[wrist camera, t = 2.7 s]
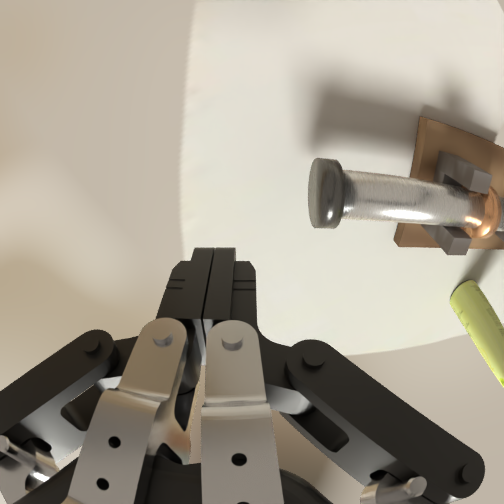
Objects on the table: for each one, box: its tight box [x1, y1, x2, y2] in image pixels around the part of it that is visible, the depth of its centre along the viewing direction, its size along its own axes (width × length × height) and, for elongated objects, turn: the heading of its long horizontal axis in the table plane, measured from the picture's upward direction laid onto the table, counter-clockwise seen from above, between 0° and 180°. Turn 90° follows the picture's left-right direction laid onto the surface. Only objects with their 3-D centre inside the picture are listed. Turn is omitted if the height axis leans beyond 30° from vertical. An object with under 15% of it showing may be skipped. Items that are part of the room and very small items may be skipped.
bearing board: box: [394, 117, 504, 255], centre depth 17 cm, size 12×20×7 cm, turn 89°
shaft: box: [308, 158, 504, 239], centre depth 17 cm, size 5×19×5 cm, turn 89°
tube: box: [450, 280, 504, 387], centre depth 20 cm, size 6×5×20 cm
